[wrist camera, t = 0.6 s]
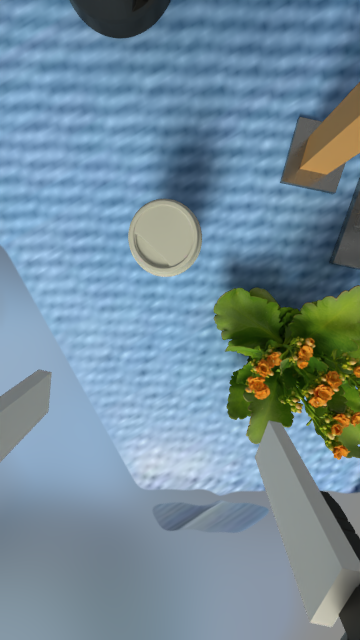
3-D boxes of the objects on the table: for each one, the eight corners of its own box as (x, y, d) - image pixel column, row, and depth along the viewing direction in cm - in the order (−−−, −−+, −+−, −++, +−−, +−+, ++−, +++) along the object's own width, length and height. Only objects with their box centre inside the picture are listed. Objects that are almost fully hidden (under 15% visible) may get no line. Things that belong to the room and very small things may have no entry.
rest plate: (297, 119, 31) (299, 116, 31) (353, 131, 31) (356, 129, 31) (280, 182, 33) (281, 181, 33) (332, 193, 33) (335, 192, 33)
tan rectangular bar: (309, 136, 31) (380, 59, 19) (337, 142, 31) (425, 69, 19) (299, 168, 32) (362, 113, 20) (326, 174, 32) (404, 122, 20)
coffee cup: (138, 226, 35) (113, 207, 24) (191, 211, 35) (192, 183, 23) (153, 279, 37) (137, 285, 26) (204, 266, 36) (210, 266, 25)
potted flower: (365, 263, 35) (527, 260, 18) (362, 395, 41) (486, 489, 24) (207, 289, 37) (221, 308, 20) (224, 412, 43) (247, 509, 26)
